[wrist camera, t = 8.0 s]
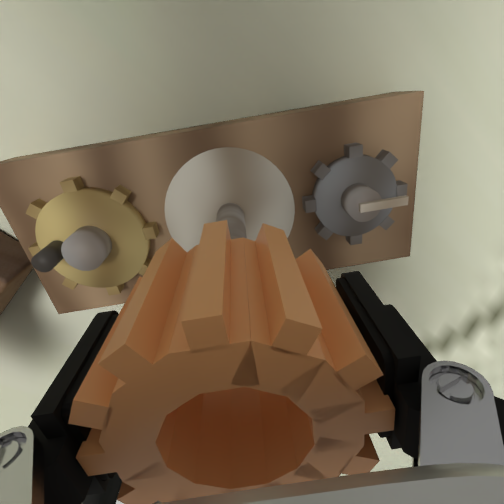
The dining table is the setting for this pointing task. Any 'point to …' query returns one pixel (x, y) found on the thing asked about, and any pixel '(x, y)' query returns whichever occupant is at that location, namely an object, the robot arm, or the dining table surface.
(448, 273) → the dining table surface
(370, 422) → the orange gear
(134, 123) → the dining table surface
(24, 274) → the wooden block
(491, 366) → the dining table surface
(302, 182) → the gear board
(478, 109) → the dining table surface
